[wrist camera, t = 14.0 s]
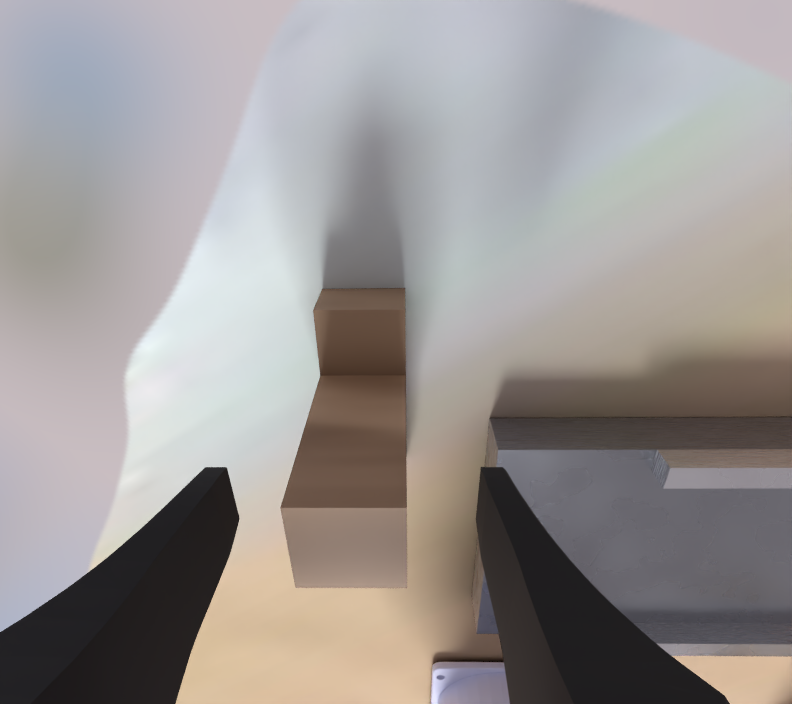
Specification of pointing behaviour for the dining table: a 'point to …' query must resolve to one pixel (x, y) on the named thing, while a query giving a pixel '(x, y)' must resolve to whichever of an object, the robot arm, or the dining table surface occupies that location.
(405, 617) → the dining table surface
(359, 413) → the tan stepped block
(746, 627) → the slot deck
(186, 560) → the robot arm
